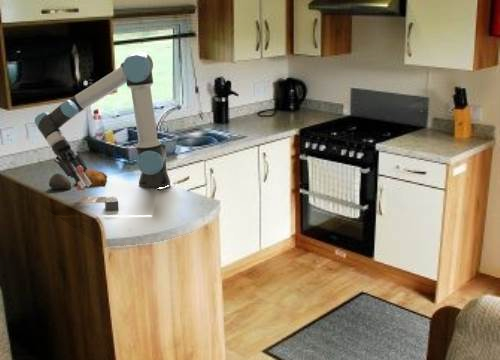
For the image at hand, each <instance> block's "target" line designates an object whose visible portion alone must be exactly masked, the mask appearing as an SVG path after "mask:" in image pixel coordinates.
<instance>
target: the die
mask: <svg viewBox="0 0 500 360" xmlns="http://www.w3.org/2000/svg"><path fill="white" fill-rule="evenodd" d="M104 208H105V211H106V212H115V211H119V200H118V198H117V197H116V198H109V199H105V203H104Z"/></svg>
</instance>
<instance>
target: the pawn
mask: <svg viewBox="0 0 500 360" xmlns="http://www.w3.org/2000/svg"><path fill="white" fill-rule="evenodd" d="M83 170H84V169H83V167H82V166H77V167H76V168H75V171H76V174H77V173H78V174H79V175H80V177H81V178H82V180H83ZM76 185H77V186H76V187H75V188H76V190H77V191H85V190H86V186H85V187H84V188H83V189H82V188H81V187H80V185H79V184H78V182H77V184H76Z"/></svg>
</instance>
